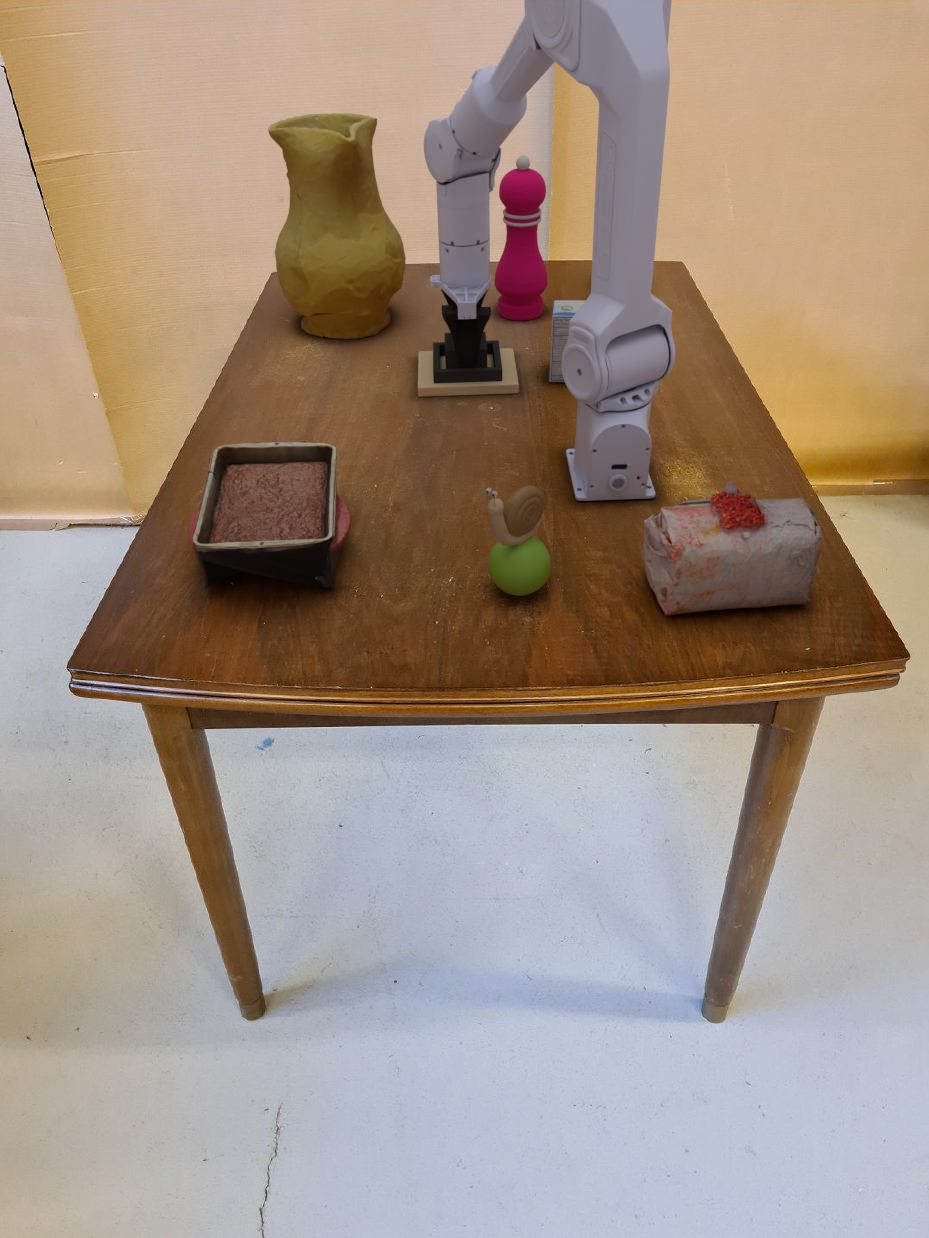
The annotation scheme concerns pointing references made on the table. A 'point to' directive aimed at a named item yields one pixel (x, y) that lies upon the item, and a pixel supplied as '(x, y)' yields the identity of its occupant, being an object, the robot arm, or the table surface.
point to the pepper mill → (521, 244)
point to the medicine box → (560, 334)
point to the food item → (731, 552)
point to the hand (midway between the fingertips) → (466, 353)
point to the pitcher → (336, 227)
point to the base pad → (467, 373)
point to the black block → (452, 359)
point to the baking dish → (271, 513)
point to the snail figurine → (518, 542)
